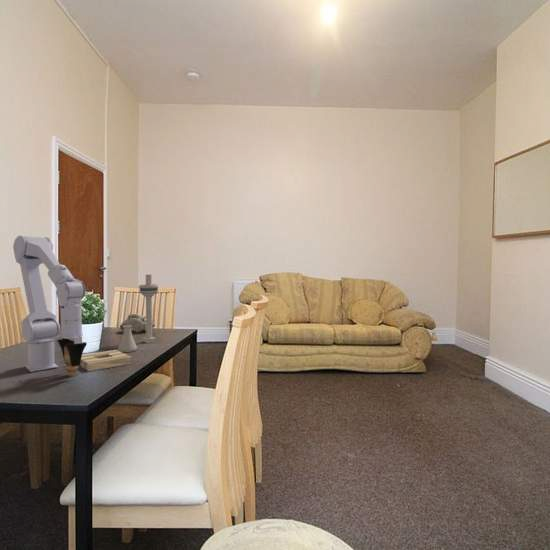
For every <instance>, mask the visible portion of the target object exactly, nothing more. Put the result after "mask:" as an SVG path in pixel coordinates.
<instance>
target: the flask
mask: <svg viewBox="0 0 550 550" xmlns="http://www.w3.org/2000/svg"><path fill="white" fill-rule="evenodd" d="M131 327H132V326H131V325H126V326H123V328H124V331H123V333H122V338H121V339H120V342H119V345H118V348H117V350H118V351H120V352H122V353H130V352H135V351H137V350H138V346H137V343H136V341H135V339H134V337H133V333H132V328H131Z"/></svg>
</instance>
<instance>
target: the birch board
mask: <svg viewBox="0 0 550 550" xmlns="http://www.w3.org/2000/svg"><path fill="white" fill-rule="evenodd" d="M131 364H132V356H131V355H128V354H127V353H125V352H120V351H118V349H113V350H108V351H107V350H106V351H100V352H93V353H87V354H82V357H81V362H80V365H79V366H78V367H81V368H82V369H84V370H85V371H87V372H93V371H98V370H103V369H109V368H115V367H121V366H126V365H131Z"/></svg>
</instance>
